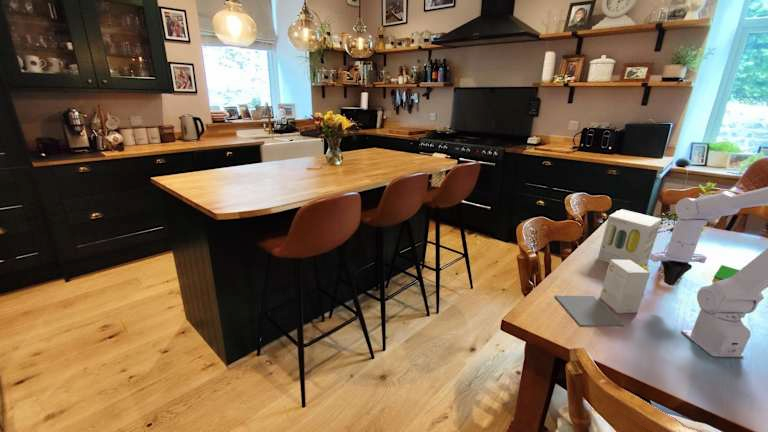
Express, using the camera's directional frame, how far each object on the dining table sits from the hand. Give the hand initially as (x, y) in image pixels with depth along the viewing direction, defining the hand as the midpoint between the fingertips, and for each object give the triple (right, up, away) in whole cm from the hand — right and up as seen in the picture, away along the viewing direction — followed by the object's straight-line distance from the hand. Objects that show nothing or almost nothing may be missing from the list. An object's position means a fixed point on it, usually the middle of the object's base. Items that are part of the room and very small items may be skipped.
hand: (668, 283), depth 103 cm
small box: (-13, -7, +2) cm, 15 cm away
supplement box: (+7, +3, +30) cm, 31 cm away
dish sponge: (+36, -3, +19) cm, 41 cm away
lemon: (-1, -3, +13) cm, 13 cm away
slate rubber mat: (-24, -7, -1) cm, 25 cm away
